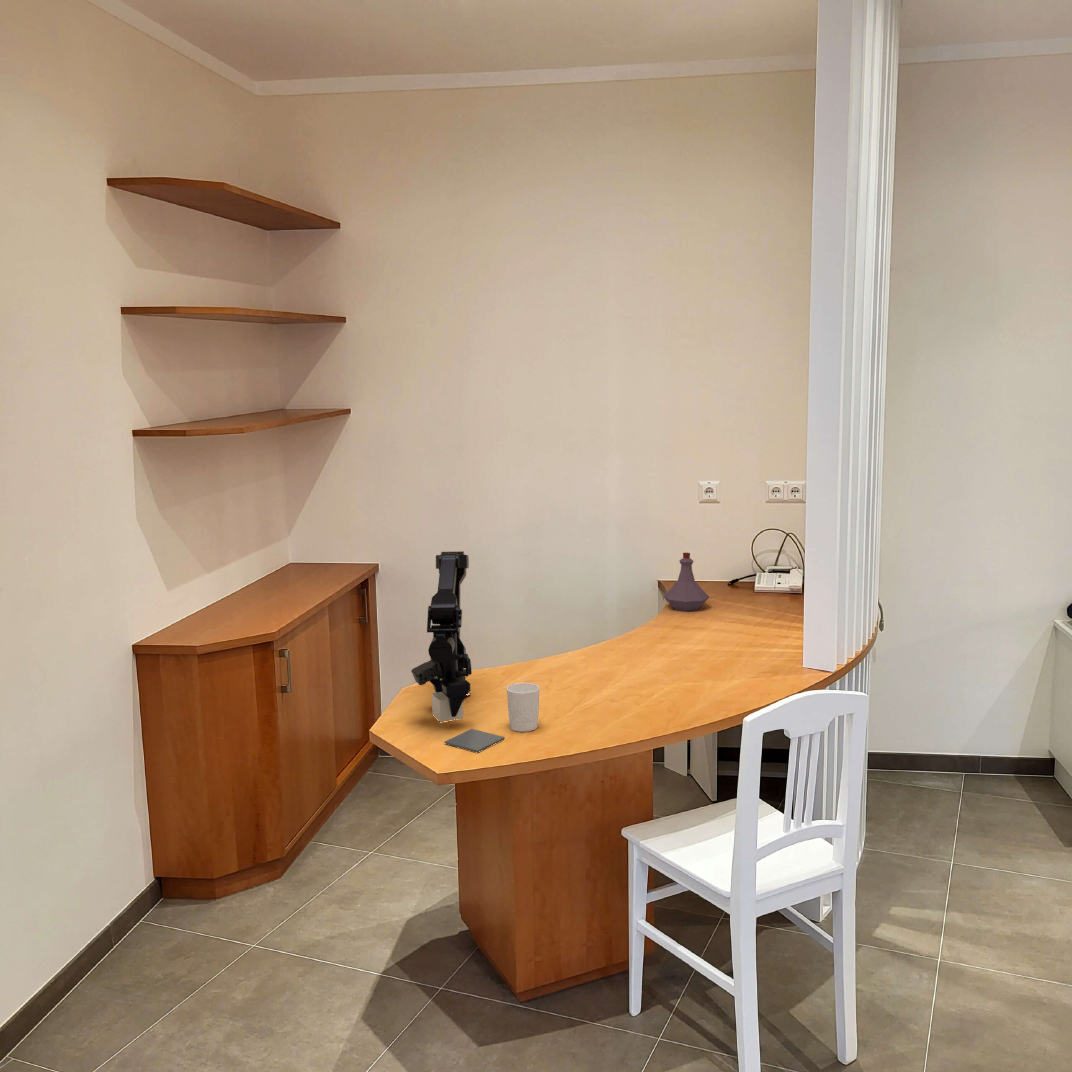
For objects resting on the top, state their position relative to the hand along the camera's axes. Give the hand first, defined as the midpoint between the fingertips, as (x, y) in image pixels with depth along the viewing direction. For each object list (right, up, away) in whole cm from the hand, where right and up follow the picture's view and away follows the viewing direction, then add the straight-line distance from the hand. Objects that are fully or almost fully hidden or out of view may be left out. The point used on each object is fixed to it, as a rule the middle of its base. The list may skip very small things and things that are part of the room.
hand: (447, 710), depth 248 cm
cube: (0, -2, 0) cm, 2 cm away
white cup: (+19, -3, -7) cm, 21 cm away
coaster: (+8, -4, -16) cm, 18 cm away
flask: (+76, +18, +106) cm, 132 cm away
